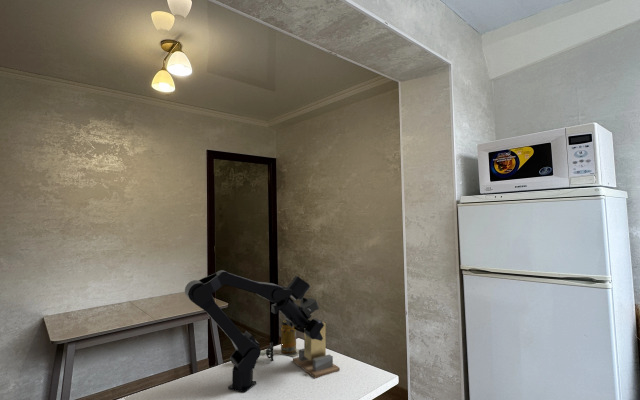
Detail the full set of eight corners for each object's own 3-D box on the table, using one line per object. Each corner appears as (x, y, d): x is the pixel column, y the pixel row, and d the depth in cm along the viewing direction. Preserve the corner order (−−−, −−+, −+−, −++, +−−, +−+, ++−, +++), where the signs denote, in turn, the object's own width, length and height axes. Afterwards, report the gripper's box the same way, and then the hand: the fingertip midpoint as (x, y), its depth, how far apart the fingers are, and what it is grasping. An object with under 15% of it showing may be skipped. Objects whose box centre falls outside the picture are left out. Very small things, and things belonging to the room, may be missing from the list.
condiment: (286, 347, 134) (286, 318, 135) (304, 350, 130) (303, 320, 131) (276, 353, 128) (276, 322, 129) (294, 357, 124) (294, 325, 125)
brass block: (311, 361, 113) (311, 325, 114) (304, 356, 117) (304, 322, 118) (325, 357, 116) (325, 323, 117) (318, 352, 120) (318, 319, 121)
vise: (339, 370, 112) (339, 357, 112) (315, 378, 107) (314, 364, 107) (315, 354, 126) (315, 343, 126) (292, 360, 121) (292, 348, 121)
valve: (239, 368, 115) (273, 364, 118) (239, 349, 116) (273, 346, 118) (240, 360, 122) (272, 357, 124) (240, 342, 122) (272, 339, 125)
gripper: (319, 296, 108) (345, 325, 113) (293, 288, 124) (317, 313, 129) (298, 324, 103) (327, 353, 108) (274, 311, 119) (300, 337, 124)
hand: (318, 337), depth 118 cm, fingers closed on brass block, 5 cm apart
